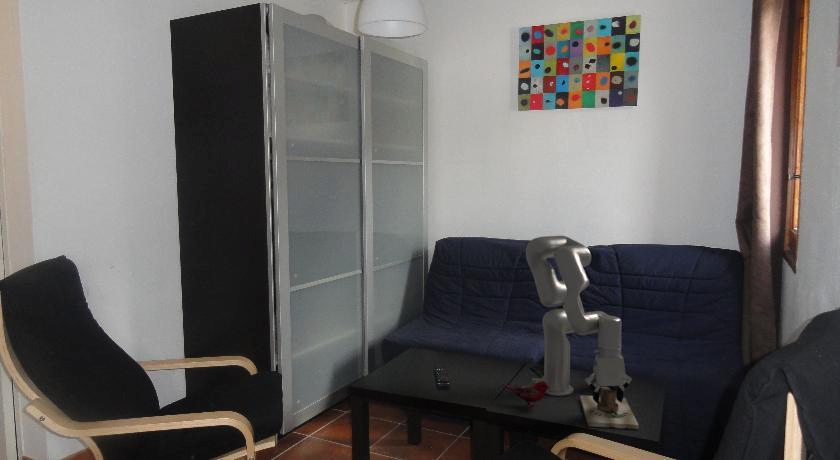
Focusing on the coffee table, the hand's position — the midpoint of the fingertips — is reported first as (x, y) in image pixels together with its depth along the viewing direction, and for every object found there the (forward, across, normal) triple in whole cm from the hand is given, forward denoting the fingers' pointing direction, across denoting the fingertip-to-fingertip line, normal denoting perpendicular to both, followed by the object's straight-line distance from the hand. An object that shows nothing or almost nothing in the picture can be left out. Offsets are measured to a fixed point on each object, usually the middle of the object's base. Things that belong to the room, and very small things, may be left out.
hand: (607, 401), depth 207 cm
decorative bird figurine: (+5, -26, +10) cm, 29 cm away
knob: (+3, 0, -2) cm, 3 cm away
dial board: (+4, 0, 0) cm, 4 cm away
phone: (+5, -8, +44) cm, 45 cm away
